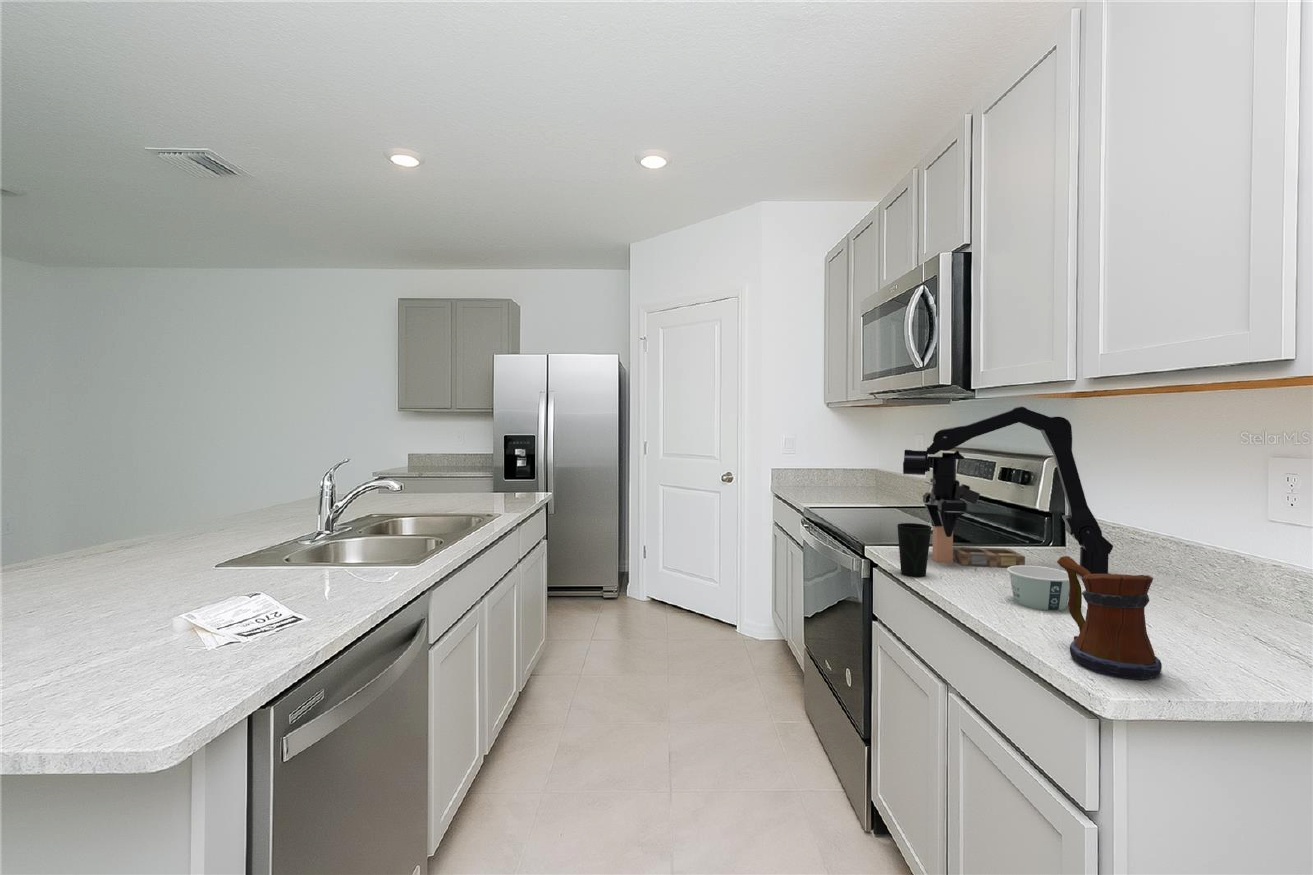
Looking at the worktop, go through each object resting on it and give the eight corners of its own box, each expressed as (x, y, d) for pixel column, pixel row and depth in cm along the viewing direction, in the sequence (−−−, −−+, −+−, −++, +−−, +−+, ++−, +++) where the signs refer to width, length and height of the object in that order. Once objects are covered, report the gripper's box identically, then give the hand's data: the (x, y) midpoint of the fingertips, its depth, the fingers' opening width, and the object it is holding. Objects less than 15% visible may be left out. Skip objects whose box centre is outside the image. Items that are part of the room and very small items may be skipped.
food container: (996, 594, 132) (996, 564, 132) (1054, 596, 131) (1055, 566, 131) (1023, 611, 120) (1024, 578, 120) (1088, 613, 119) (1088, 580, 119)
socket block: (1025, 568, 155) (1025, 556, 155) (962, 565, 158) (962, 553, 158) (1008, 559, 166) (1009, 547, 165) (950, 557, 168) (950, 545, 168)
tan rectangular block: (952, 562, 161) (953, 529, 161) (936, 562, 162) (937, 528, 162) (947, 559, 165) (948, 526, 165) (932, 558, 166) (932, 526, 166)
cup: (889, 572, 151) (890, 524, 150) (912, 569, 154) (913, 522, 153) (913, 579, 144) (914, 529, 143) (937, 576, 147) (938, 527, 146)
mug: (1028, 637, 106) (1030, 551, 105) (1094, 637, 106) (1096, 552, 105) (1103, 681, 88) (1106, 578, 87) (1183, 682, 88) (1186, 579, 87)
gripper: (989, 479, 152) (988, 541, 153) (964, 473, 171) (963, 528, 171) (942, 478, 154) (941, 539, 155) (922, 472, 173) (921, 527, 173)
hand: (943, 533), depth 163 cm, fingers open, 9 cm apart
